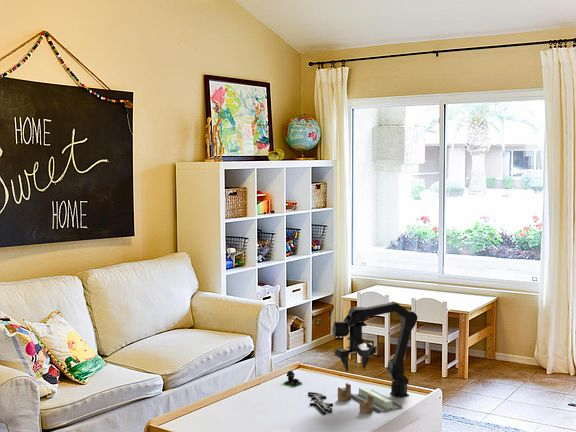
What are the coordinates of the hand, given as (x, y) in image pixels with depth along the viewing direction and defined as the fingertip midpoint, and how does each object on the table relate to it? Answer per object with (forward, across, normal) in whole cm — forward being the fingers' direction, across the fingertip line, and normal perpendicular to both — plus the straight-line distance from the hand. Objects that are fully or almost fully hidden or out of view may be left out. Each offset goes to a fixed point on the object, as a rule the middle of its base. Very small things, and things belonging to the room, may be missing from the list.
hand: (355, 369), depth 326 cm
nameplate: (+14, -18, +1) cm, 23 cm away
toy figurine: (+14, -15, +32) cm, 38 cm away
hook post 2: (+13, -6, -18) cm, 23 cm away
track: (+13, +4, -9) cm, 16 cm away
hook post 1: (+13, -6, 0) cm, 14 cm away
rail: (+12, +4, -9) cm, 16 cm away
